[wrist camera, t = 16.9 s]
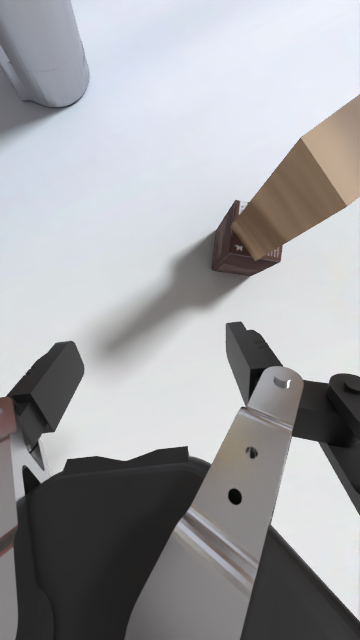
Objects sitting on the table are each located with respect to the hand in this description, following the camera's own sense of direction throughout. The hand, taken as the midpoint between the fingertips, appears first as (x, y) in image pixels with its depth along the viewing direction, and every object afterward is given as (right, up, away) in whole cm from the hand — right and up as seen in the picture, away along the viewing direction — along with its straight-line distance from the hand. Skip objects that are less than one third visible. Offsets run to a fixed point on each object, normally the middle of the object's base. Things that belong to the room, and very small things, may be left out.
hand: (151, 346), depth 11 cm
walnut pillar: (+10, +11, +11) cm, 19 cm away
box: (+9, +11, +19) cm, 24 cm away
